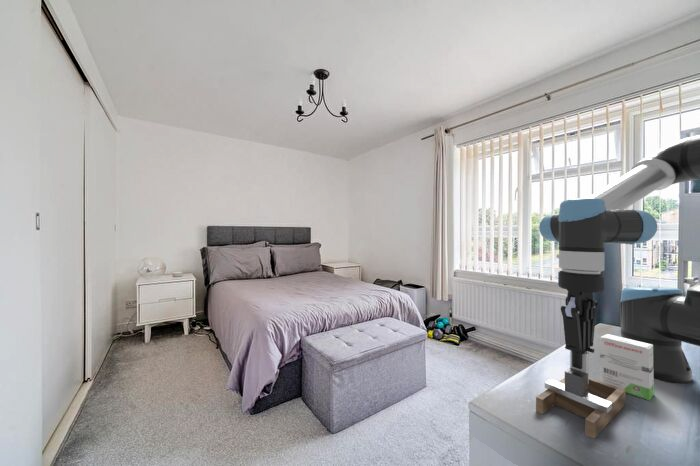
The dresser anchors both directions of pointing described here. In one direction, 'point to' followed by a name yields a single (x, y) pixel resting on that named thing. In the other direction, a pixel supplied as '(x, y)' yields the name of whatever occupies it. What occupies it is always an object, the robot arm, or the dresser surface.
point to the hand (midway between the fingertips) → (579, 381)
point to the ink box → (627, 365)
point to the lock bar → (578, 390)
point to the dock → (593, 416)
